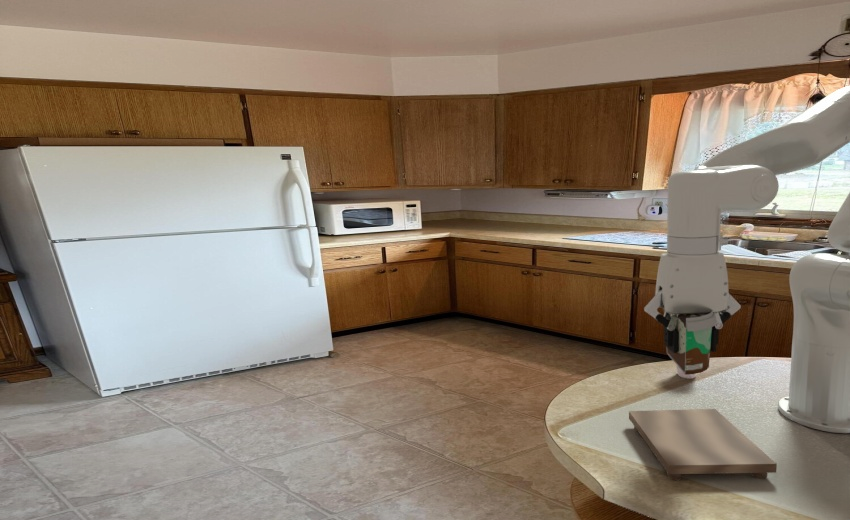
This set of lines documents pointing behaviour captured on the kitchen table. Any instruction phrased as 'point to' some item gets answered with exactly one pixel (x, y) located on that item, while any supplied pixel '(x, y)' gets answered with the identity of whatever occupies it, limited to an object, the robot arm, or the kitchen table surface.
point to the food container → (693, 342)
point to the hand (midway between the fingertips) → (690, 348)
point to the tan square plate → (699, 443)
